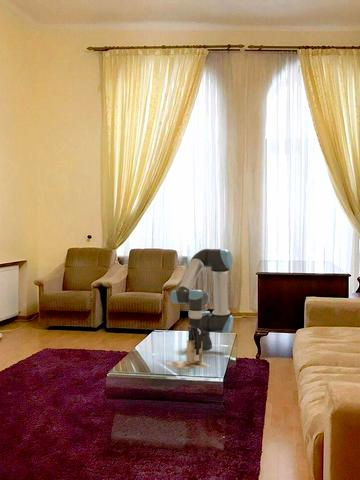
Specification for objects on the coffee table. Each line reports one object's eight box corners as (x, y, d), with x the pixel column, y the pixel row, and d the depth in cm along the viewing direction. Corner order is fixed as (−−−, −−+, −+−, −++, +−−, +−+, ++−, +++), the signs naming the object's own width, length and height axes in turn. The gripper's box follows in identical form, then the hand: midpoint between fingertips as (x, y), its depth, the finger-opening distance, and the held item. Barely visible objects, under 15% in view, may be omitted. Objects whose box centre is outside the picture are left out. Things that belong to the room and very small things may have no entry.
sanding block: (198, 360, 308) (198, 339, 308) (201, 362, 304) (202, 341, 304) (186, 361, 306) (187, 340, 306) (190, 363, 301) (190, 342, 301)
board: (198, 361, 315) (198, 359, 315) (210, 368, 300) (210, 366, 300) (165, 364, 307) (166, 362, 307) (176, 371, 292) (176, 369, 292)
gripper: (182, 315, 311) (181, 356, 312) (195, 320, 295) (195, 363, 295) (194, 315, 314) (193, 355, 315) (208, 320, 298) (207, 362, 298)
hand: (194, 359), depth 305 cm, fingers closed on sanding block, 5 cm apart
